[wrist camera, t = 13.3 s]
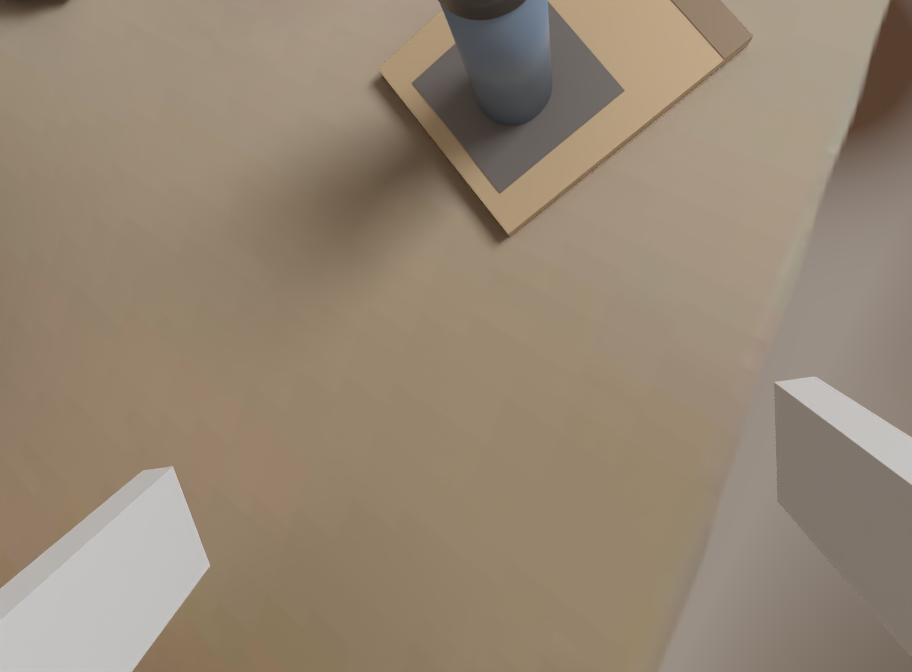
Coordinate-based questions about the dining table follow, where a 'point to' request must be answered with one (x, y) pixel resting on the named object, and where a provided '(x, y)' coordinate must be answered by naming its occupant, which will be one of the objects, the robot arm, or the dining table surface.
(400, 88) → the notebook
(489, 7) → the blue bottle
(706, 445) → the dining table surface
